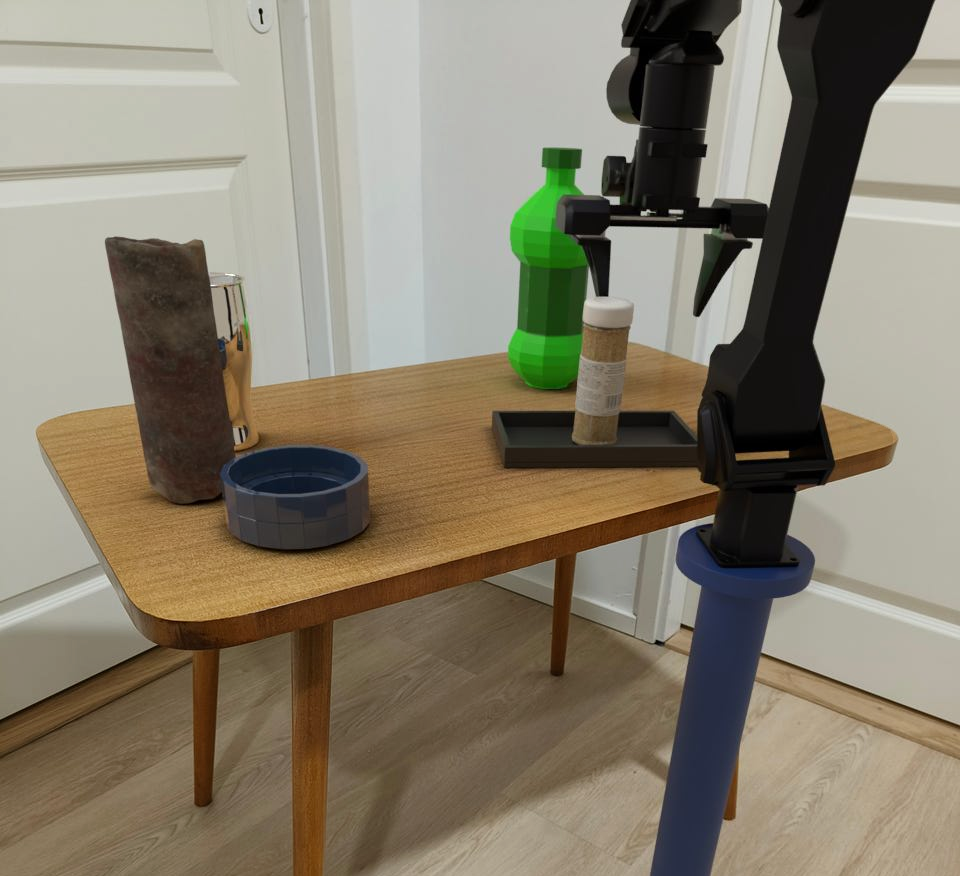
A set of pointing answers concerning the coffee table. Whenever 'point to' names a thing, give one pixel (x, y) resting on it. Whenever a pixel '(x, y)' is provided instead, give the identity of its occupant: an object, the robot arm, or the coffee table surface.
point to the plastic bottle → (549, 281)
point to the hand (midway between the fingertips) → (649, 315)
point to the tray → (551, 445)
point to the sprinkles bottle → (601, 369)
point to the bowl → (296, 496)
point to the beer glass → (235, 353)
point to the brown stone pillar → (173, 363)
